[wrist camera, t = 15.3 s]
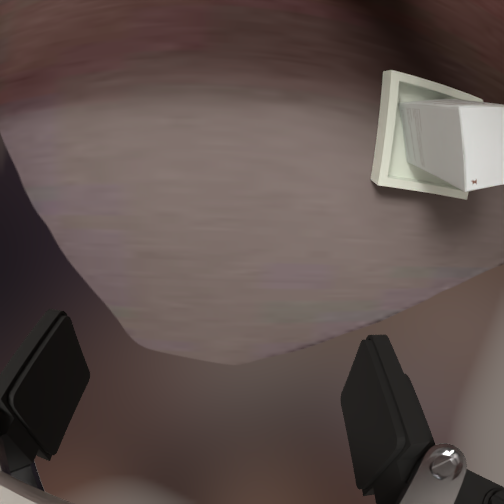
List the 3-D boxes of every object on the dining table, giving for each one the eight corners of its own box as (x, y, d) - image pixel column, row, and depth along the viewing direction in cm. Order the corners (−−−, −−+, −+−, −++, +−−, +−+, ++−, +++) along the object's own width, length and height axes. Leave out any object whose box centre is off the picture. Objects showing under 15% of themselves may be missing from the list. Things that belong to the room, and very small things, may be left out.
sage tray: (383, 71, 29) (391, 69, 27) (471, 98, 29) (483, 99, 27) (370, 179, 35) (377, 185, 33) (456, 193, 35) (466, 199, 33)
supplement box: (454, 155, 32) (520, 184, 21) (405, 162, 33) (464, 194, 22) (448, 97, 29) (517, 106, 18) (396, 100, 30) (458, 106, 19)
